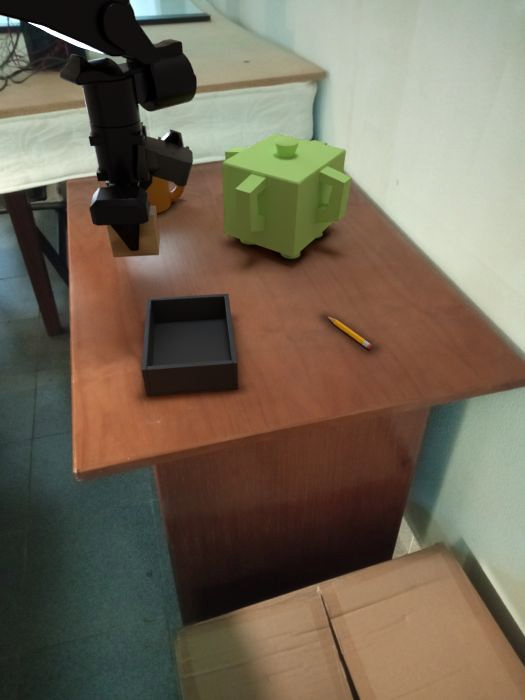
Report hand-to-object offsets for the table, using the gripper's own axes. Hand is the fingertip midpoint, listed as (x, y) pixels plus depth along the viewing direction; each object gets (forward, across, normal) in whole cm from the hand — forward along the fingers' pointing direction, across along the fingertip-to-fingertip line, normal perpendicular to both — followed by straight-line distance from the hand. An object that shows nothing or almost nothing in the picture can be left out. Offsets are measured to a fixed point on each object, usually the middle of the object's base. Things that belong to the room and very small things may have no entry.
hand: (136, 241), depth 67 cm
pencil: (+11, -10, -28) cm, 32 cm away
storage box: (+11, +18, -23) cm, 32 cm away
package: (+1, 0, 0) cm, 1 cm away
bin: (+11, -12, -6) cm, 17 cm away
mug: (+11, +33, 0) cm, 35 cm away
